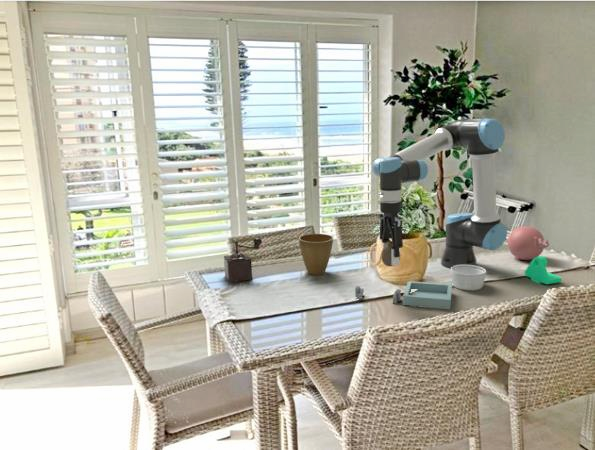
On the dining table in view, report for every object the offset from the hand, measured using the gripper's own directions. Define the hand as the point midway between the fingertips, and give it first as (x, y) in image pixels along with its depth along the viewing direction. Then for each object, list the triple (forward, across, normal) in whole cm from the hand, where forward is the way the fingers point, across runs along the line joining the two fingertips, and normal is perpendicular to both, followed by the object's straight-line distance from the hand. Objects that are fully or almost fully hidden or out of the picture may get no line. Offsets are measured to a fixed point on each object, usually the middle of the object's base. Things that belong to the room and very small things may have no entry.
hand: (390, 262), depth 188 cm
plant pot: (+15, -39, -17) cm, 45 cm away
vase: (+1, 0, 0) cm, 1 cm away
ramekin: (+15, -2, +34) cm, 37 cm away
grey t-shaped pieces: (+14, -1, -5) cm, 15 cm away
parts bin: (+14, +5, +12) cm, 20 cm away
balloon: (+16, -21, +78) cm, 82 cm away
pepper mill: (+14, -45, -48) cm, 67 cm away
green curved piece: (+16, +3, +65) cm, 67 cm away
